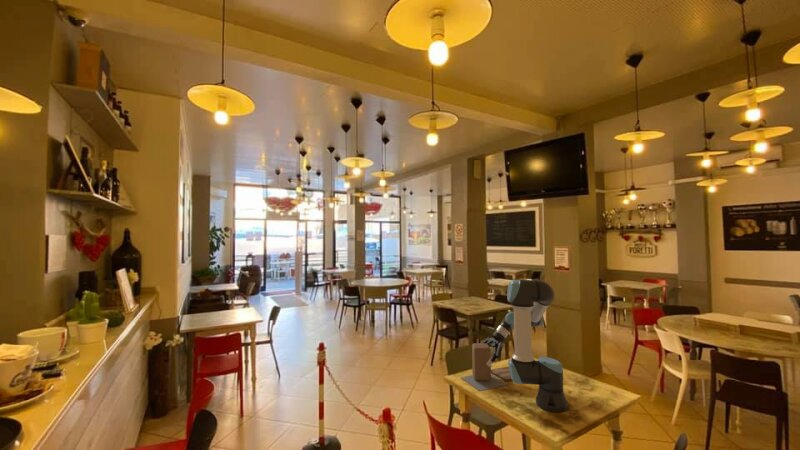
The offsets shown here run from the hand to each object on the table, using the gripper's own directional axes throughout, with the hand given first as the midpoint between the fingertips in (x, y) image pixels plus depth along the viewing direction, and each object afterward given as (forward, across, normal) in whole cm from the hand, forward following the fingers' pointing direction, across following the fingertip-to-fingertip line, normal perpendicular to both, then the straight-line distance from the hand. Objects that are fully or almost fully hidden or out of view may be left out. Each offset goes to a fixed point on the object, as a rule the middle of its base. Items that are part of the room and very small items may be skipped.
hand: (480, 361), depth 209 cm
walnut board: (-6, -2, -20) cm, 21 cm away
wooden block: (+7, 0, -7) cm, 10 cm away
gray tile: (+8, -4, -6) cm, 11 cm away
